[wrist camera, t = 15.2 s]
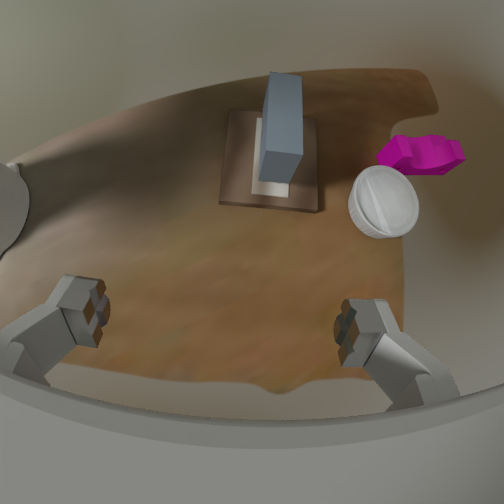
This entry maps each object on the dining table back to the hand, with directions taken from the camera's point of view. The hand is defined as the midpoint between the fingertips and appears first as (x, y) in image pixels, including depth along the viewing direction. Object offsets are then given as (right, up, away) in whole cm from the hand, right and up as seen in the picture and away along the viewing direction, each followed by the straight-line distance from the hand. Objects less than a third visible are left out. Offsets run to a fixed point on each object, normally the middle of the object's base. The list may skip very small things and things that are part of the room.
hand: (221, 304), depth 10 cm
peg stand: (+4, +16, +35) cm, 39 cm away
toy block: (+30, +18, +38) cm, 52 cm away
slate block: (+4, +17, +30) cm, 34 cm away
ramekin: (+20, +8, +36) cm, 42 cm away
